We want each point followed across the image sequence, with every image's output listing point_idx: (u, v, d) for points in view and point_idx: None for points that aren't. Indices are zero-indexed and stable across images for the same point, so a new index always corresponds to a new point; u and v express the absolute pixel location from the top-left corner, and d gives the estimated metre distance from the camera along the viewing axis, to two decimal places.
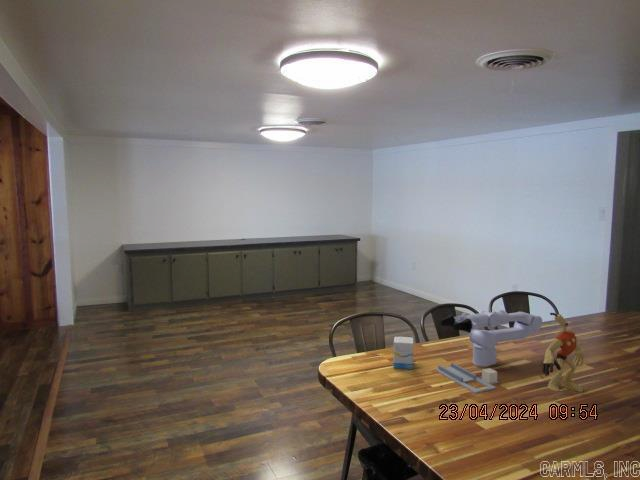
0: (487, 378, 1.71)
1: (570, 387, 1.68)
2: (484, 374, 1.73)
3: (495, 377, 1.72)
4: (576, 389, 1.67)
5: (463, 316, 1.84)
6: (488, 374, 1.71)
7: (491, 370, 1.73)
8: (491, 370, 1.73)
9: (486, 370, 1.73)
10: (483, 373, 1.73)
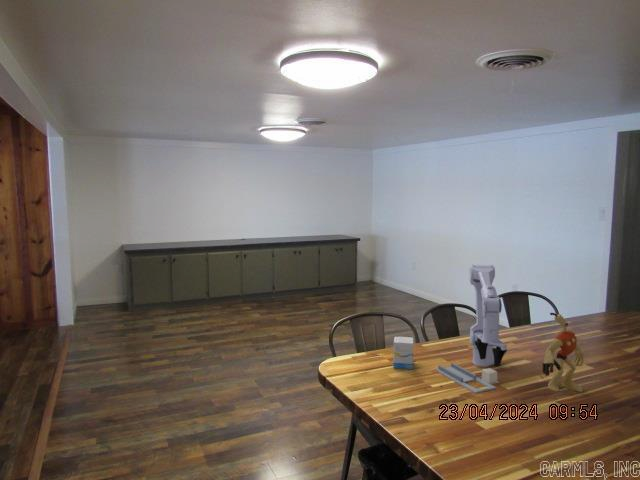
0: (487, 378, 1.71)
1: (570, 387, 1.68)
2: (484, 374, 1.73)
3: (495, 377, 1.72)
4: (576, 389, 1.67)
5: None
6: (488, 374, 1.71)
7: (491, 370, 1.73)
8: (491, 370, 1.73)
9: (486, 370, 1.73)
10: (483, 373, 1.73)
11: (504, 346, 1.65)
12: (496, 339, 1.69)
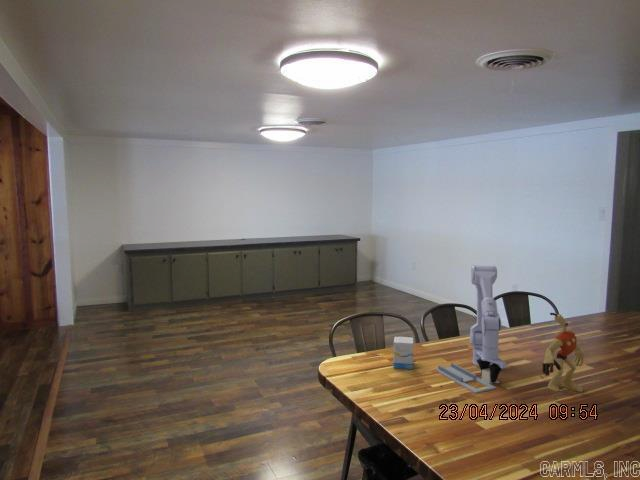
0: (487, 378, 1.71)
1: (570, 387, 1.68)
2: (484, 374, 1.73)
3: None
4: (576, 389, 1.67)
5: None
6: (488, 374, 1.71)
7: None
8: None
9: (486, 370, 1.73)
10: (483, 373, 1.73)
11: (503, 364, 1.65)
12: (495, 357, 1.70)
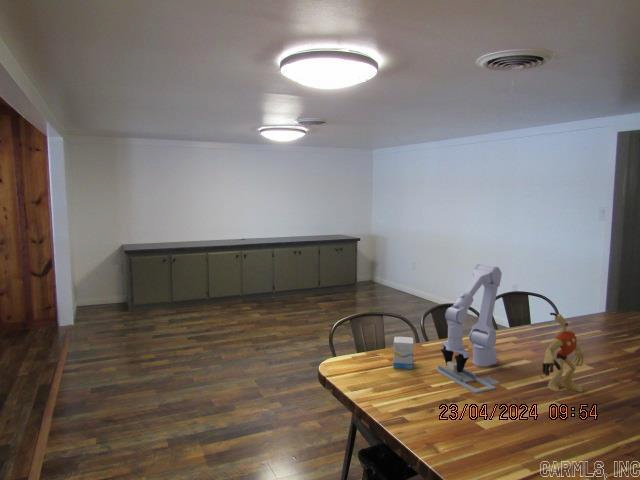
0: (451, 370, 1.78)
1: (570, 387, 1.68)
2: (449, 366, 1.80)
3: None
4: (576, 389, 1.67)
5: None
6: (452, 366, 1.78)
7: None
8: (455, 362, 1.80)
9: (451, 362, 1.80)
10: (448, 365, 1.80)
11: (466, 354, 1.72)
12: (459, 347, 1.76)
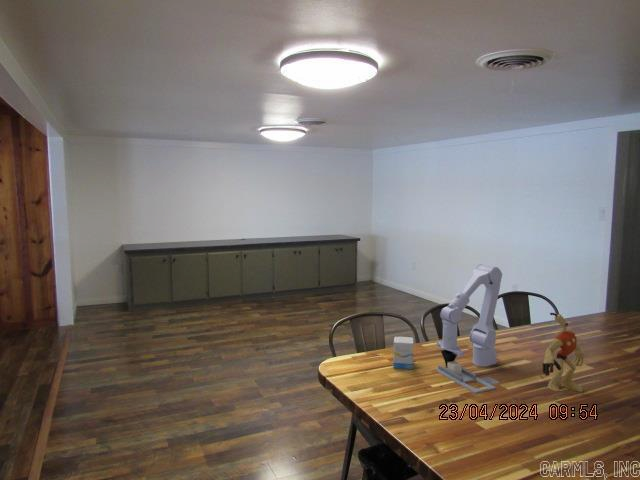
0: (452, 370, 1.78)
1: (570, 387, 1.68)
2: (449, 366, 1.79)
3: (459, 370, 1.78)
4: (576, 389, 1.67)
5: None
6: (452, 366, 1.77)
7: (456, 362, 1.80)
8: (456, 363, 1.80)
9: (451, 362, 1.80)
10: (448, 365, 1.80)
11: (461, 353, 1.75)
12: (454, 346, 1.79)
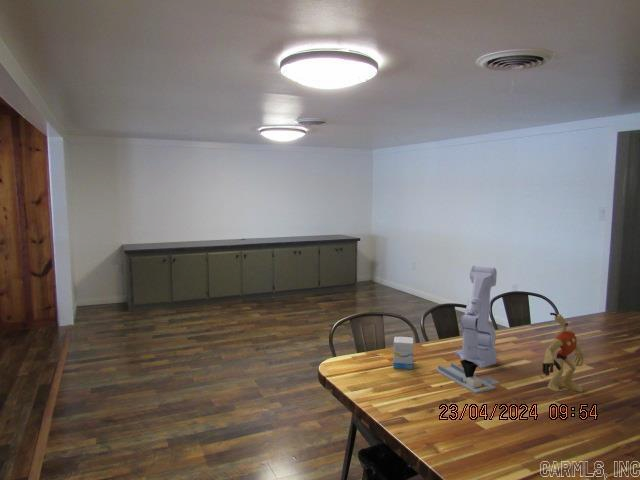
0: None
1: (570, 387, 1.68)
2: (470, 383, 1.68)
3: None
4: (576, 389, 1.67)
5: None
6: None
7: (479, 385, 1.68)
8: (478, 386, 1.68)
9: (475, 384, 1.67)
10: (471, 382, 1.68)
11: (482, 363, 1.64)
12: (475, 356, 1.68)
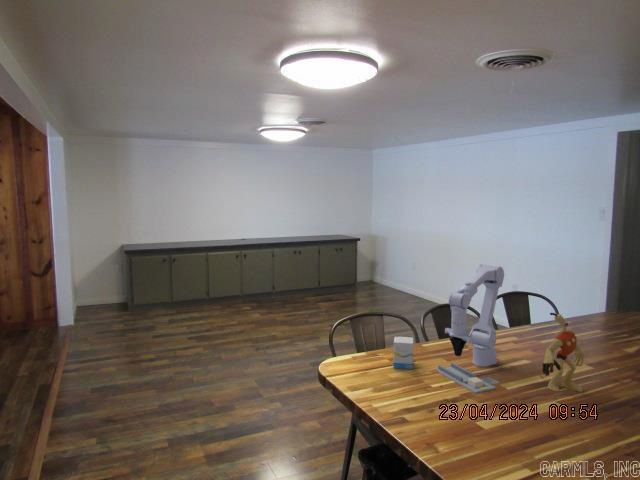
0: None
1: (570, 387, 1.68)
2: (472, 384, 1.67)
3: None
4: (576, 389, 1.67)
5: None
6: None
7: (480, 386, 1.67)
8: (480, 386, 1.67)
9: (476, 385, 1.66)
10: (472, 383, 1.67)
11: (470, 339, 1.70)
12: (463, 333, 1.74)
